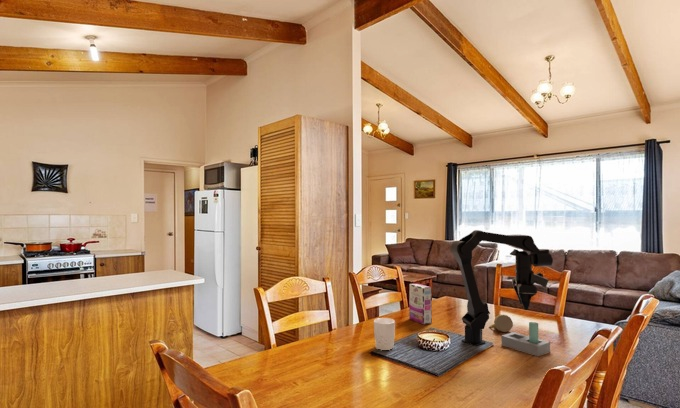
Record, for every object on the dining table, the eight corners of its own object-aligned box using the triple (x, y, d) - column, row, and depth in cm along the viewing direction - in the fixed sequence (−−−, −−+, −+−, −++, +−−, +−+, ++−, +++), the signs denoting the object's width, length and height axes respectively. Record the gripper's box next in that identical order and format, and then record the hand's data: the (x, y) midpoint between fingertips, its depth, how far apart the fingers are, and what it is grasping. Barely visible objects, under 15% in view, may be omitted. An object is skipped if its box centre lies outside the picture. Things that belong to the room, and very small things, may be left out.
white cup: (394, 352, 139) (394, 324, 139) (372, 350, 140) (372, 323, 141) (395, 344, 147) (395, 318, 147) (375, 343, 148) (375, 317, 148)
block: (537, 356, 134) (537, 346, 134) (501, 345, 146) (501, 335, 146) (550, 351, 138) (550, 342, 138) (513, 340, 150) (513, 331, 150)
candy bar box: (432, 323, 174) (432, 287, 174) (423, 325, 172) (423, 288, 172) (417, 317, 184) (417, 282, 184) (408, 318, 182) (408, 283, 182)
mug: (505, 326, 170) (512, 309, 165) (507, 342, 161) (515, 325, 157) (487, 321, 171) (495, 304, 166) (489, 337, 163) (496, 320, 158)
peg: (535, 353, 137) (535, 324, 137) (527, 350, 140) (527, 322, 140) (540, 351, 139) (540, 323, 139) (532, 349, 141) (531, 321, 141)
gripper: (552, 271, 140) (553, 314, 139) (541, 264, 158) (541, 302, 157) (518, 270, 143) (519, 312, 143) (511, 263, 161) (511, 301, 161)
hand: (524, 307), depth 151 cm, fingers open, 9 cm apart
